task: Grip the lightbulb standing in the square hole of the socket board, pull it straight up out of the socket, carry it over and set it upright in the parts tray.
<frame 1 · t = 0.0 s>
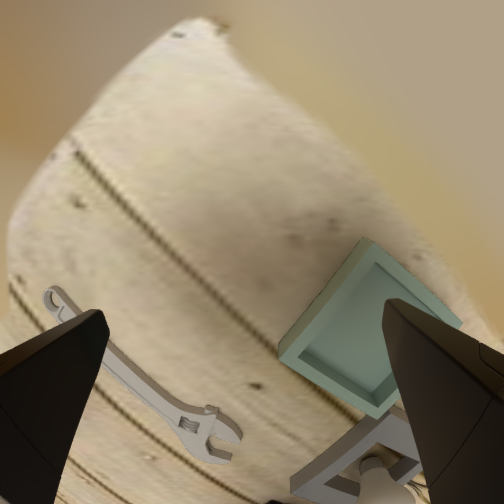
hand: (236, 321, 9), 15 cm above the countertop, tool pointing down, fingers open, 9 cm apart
tongs: (421, 488, 28), on the countertop
socket board: (368, 459, 27), on the countertop
adjustable wrench: (145, 373, 28), on the countertop
lightbulb: (368, 458, 27), resting in socket board
parts tray: (369, 328, 25), on the countertop
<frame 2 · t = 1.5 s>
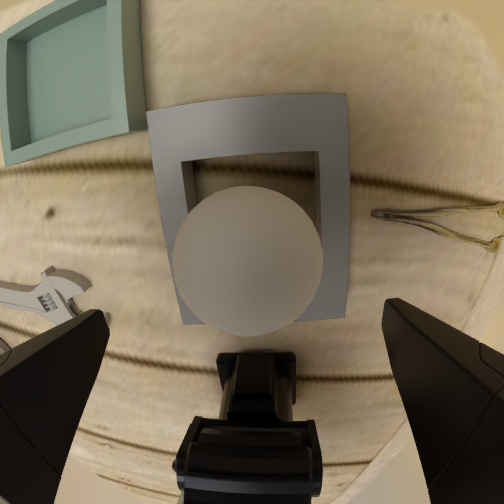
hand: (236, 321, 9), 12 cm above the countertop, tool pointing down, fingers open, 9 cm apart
tongs: (442, 222, 20), on the countertop
travel mug: (2, 351, 29), on the countertop
socket board: (256, 209, 20), on the countertop
adjustable wrench: (13, 283, 25), on the countertop
lightbulb: (256, 208, 20), resting in socket board
parts tray: (74, 74, 17), on the countertop
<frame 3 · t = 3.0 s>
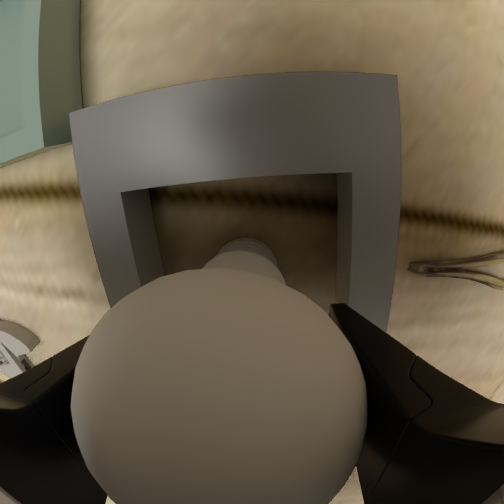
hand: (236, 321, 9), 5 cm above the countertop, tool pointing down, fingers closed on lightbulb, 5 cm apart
tongs: (493, 267, 14), on the countertop
socket board: (247, 258, 13), on the countertop
lightbulb: (247, 256, 13), resting in socket board, touching gripper
parts tray: (1, 68, 10), on the countertop
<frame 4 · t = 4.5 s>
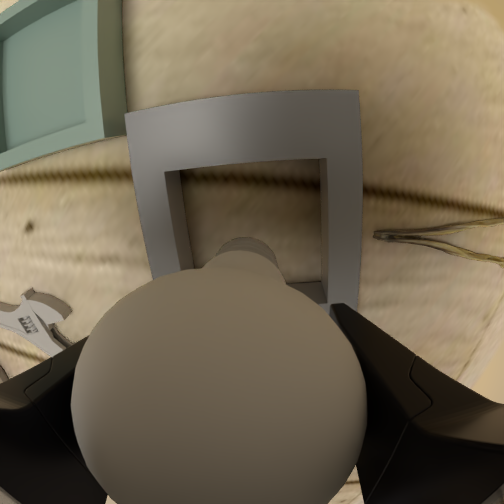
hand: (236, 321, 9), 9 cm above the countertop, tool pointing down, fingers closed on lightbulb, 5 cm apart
tongs: (452, 238, 18), on the countertop
socket board: (253, 225, 18), on the countertop
lightbulb: (247, 256, 14), point 4 cm above the countertop, touching gripper
parts tray: (50, 73, 14), on the countertop
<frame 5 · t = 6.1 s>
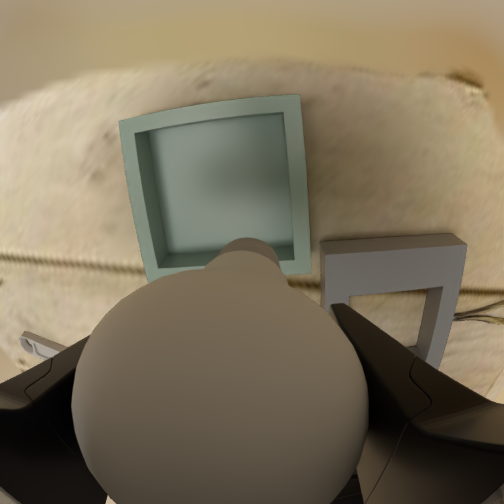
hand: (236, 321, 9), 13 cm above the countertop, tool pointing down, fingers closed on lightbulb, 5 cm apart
tongs: (489, 310, 24), on the countertop
socket board: (384, 316, 24), on the countertop
adjustable wrench: (113, 361, 29), on the countertop
lightbulb: (250, 256, 13), point 9 cm above the countertop, touching gripper
parts tray: (221, 186, 21), on the countertop
when the fingers open (6 cm above the countertop, at t = 8.4 s): lightbulb drops 1 cm, resting on parts tray.
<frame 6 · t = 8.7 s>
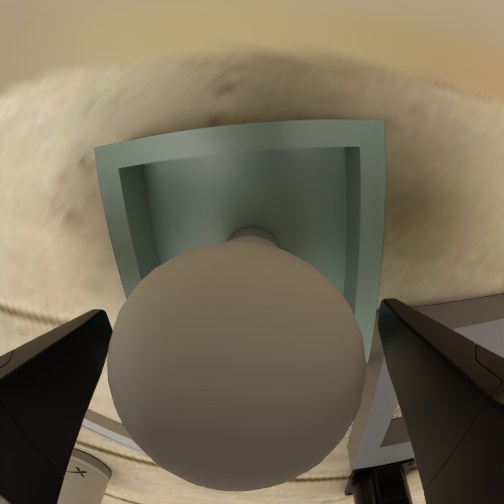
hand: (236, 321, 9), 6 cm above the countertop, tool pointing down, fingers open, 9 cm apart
travel mug: (88, 460, 27), on the countertop
socket board: (430, 382, 18), on the countertop
adjustable wrench: (106, 414, 23), on the countertop
lightbulb: (253, 244, 15), resting on parts tray
parts tray: (249, 241, 15), on the countertop
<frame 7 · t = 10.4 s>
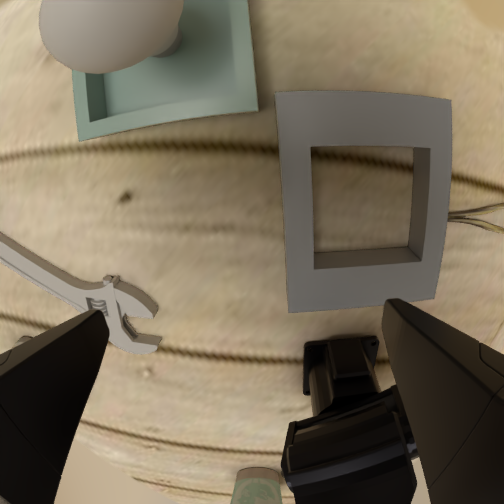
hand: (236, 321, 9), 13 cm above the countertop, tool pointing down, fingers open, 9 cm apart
tongs: (486, 218, 21), on the countertop
socket board: (362, 198, 20), on the countertop
adjustable wrench: (49, 262, 24), on the countertop
coffee cup: (257, 474, 36), on the countertop
lightbulb: (167, 42, 16), resting on parts tray
parts tray: (166, 44, 16), on the countertop
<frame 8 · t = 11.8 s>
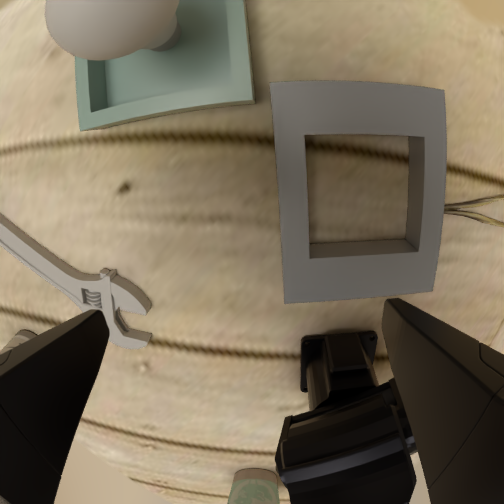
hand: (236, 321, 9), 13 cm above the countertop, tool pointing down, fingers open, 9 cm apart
tongs: (481, 211, 21), on the countertop
travel mug: (36, 349, 29), on the countertop
socket board: (358, 188, 20), on the countertop
adjustable wrench: (47, 249, 24), on the countertop
coffee cup: (255, 475, 36), on the countertop
lightbulb: (167, 38, 16), resting on parts tray
parts tray: (166, 39, 17), on the countertop
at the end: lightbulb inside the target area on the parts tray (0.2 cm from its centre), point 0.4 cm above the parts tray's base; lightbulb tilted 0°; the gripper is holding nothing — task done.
